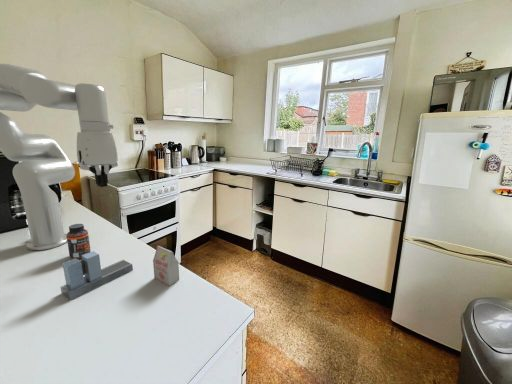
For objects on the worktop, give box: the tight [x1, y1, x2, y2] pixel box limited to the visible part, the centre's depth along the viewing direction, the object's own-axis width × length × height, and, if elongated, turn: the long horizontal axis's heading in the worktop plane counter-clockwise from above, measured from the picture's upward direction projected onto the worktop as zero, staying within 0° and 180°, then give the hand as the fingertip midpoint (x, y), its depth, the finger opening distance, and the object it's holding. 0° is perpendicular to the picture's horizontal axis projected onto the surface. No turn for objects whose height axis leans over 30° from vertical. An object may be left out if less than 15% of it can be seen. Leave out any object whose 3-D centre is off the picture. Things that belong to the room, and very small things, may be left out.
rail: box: [60, 258, 134, 301], centre depth 69 cm, size 5×17×9 cm, turn 149°
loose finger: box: [80, 250, 102, 281], centre depth 67 cm, size 3×4×7 cm
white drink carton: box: [152, 245, 180, 287], centre depth 71 cm, size 4×7×10 cm, turn 58°
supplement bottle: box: [66, 223, 92, 260], centre depth 81 cm, size 6×6×11 cm
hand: (102, 186), depth 77 cm, fingers closed
